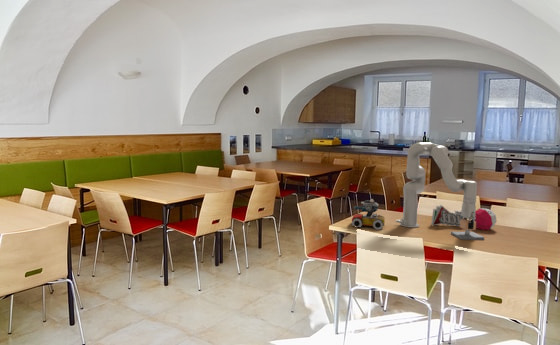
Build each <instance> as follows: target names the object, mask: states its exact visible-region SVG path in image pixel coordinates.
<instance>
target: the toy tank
mask: <svg viewBox="0 0 560 345" xmlns="http://www.w3.org/2000/svg"><path fill="white" fill-rule="evenodd" d="M360 204H361V205H362V206H359V205H358V206H353V209H354V210H361V212H363V213H362V214H361V213H356V214H354V215H352V218H351V225H352V227H353V226H356V227H360V228H361V227H362V226H370V227H373V228H374V229H375V230H377V231H379V230H382V229H383V228H384V227H385V220H386V217H385V216H383V215H381V214H377V213H376V212H377V211H378V207H379V203H377V202H375V200H374V199H373V198H371V199H370V200H367V199H365V200H364V201H361V203H360ZM364 212H365V213H366V214H364ZM363 214H364V215H363Z"/></svg>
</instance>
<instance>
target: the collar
mask: <svg viewBox="0 0 560 345" xmlns="http://www.w3.org/2000/svg"><path fill="white" fill-rule="evenodd" d="M468 223H469V219H467V220H460V226H459V228H461V229H463V231H465V230H470V231H476V222H475V221H474V226H473V229H468Z"/></svg>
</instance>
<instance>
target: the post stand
mask: <svg viewBox="0 0 560 345" xmlns="http://www.w3.org/2000/svg"><path fill="white" fill-rule="evenodd" d="M450 235H452V236H454V237H456V238H458V239H460V240H468V241H469V240H474V241H475V240H485V237H484V236H483V235H481V234H478V233H476V232H474V231H471V230H464V231H450Z"/></svg>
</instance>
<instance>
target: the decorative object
mask: <svg viewBox="0 0 560 345" xmlns="http://www.w3.org/2000/svg"><path fill="white" fill-rule="evenodd" d="M475 217H476V219H475V222H476V228H477V229H479V230H481V229H482V231H489V230H491V229H492V228H494V227H495V225H496V223H497V222H498V221H497V215H496V214H495V212H494V211H493V210H492V209H489V208H478V209H476V213H475Z"/></svg>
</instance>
